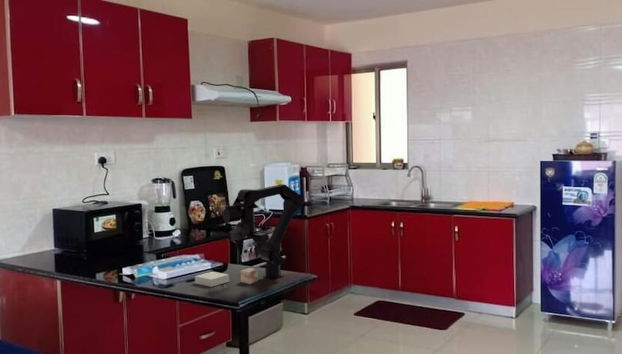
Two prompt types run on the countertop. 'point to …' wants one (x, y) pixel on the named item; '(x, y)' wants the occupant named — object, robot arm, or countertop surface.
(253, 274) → the birch cube
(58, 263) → the countertop surface
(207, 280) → the riser
